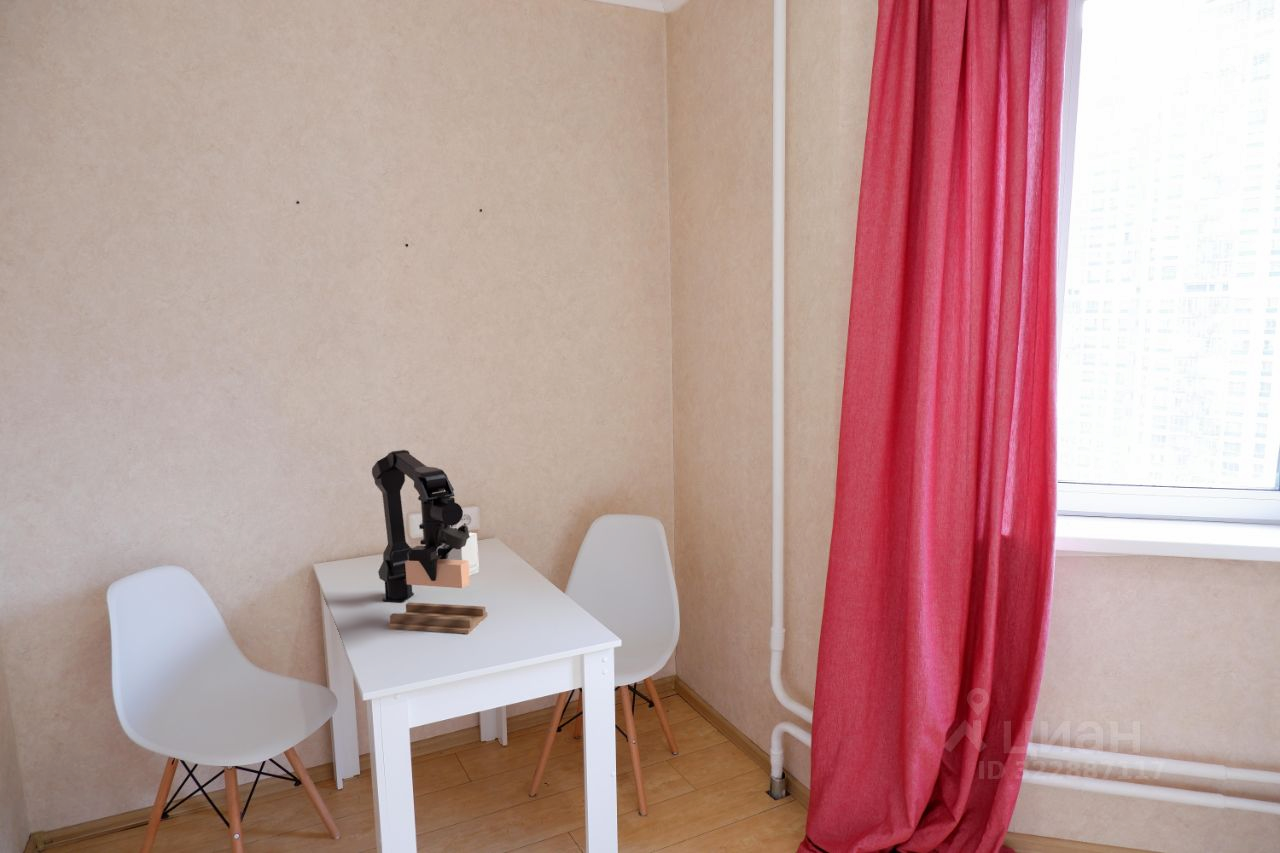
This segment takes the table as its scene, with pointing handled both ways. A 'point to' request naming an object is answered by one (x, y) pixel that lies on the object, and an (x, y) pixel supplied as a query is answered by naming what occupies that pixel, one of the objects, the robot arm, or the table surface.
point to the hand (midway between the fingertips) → (437, 577)
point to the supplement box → (468, 554)
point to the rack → (438, 618)
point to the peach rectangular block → (439, 574)
